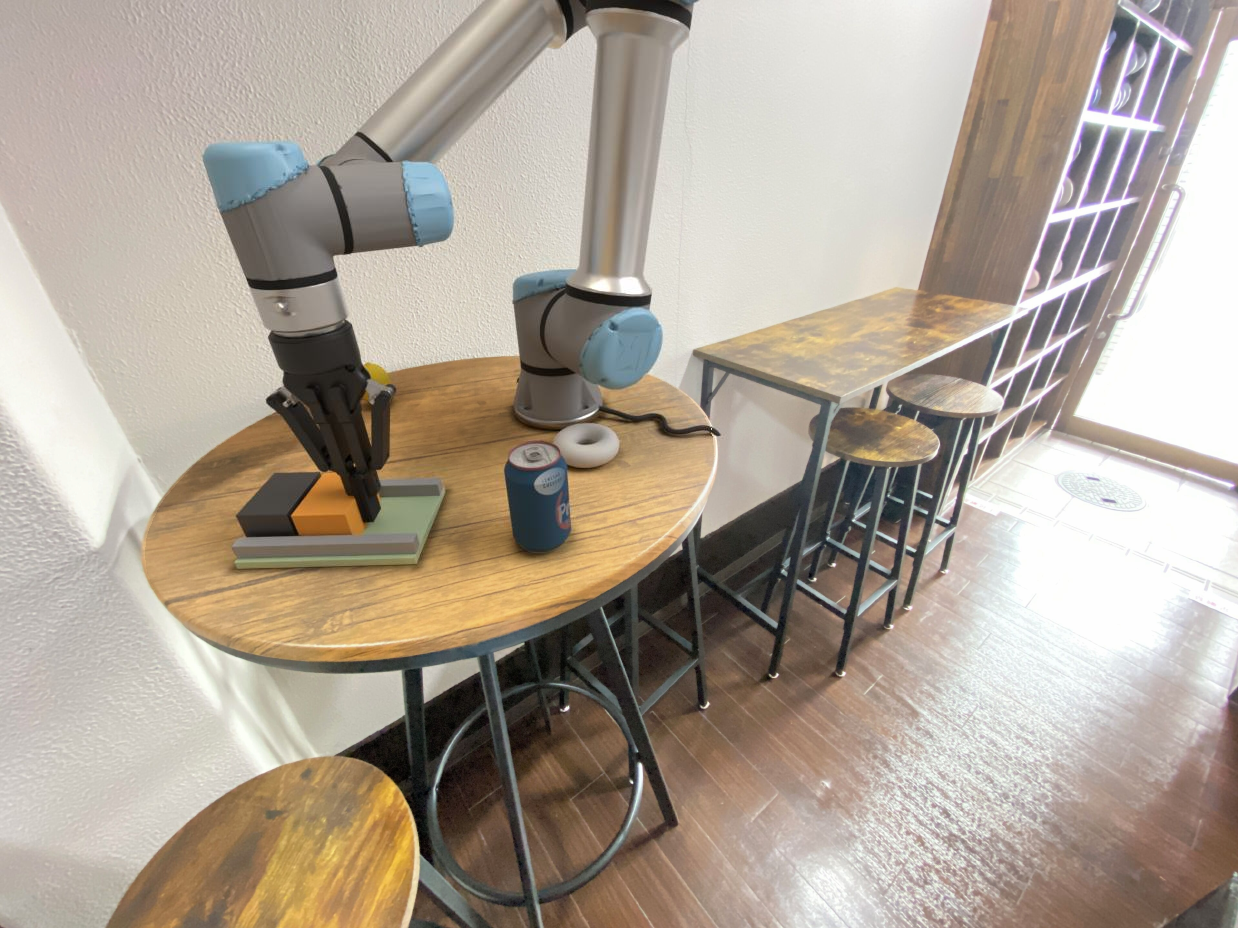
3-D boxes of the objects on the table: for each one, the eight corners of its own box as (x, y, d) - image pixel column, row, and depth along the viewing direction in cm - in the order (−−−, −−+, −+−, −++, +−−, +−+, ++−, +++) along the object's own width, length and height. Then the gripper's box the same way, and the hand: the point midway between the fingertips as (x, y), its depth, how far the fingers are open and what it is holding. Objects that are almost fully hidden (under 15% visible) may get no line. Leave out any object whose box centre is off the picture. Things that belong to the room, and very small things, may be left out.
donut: (540, 460, 79) (595, 479, 75) (537, 440, 77) (594, 458, 73) (579, 432, 86) (632, 448, 82) (577, 413, 84) (631, 428, 80)
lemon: (402, 402, 95) (391, 360, 91) (375, 415, 91) (363, 371, 87) (382, 395, 98) (371, 354, 93) (355, 407, 94) (342, 364, 89)
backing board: (445, 492, 72) (438, 457, 69) (416, 564, 61) (405, 526, 58) (295, 495, 72) (281, 461, 69) (237, 568, 60) (217, 531, 57)
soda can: (577, 551, 62) (572, 465, 56) (517, 562, 61) (505, 475, 54) (565, 515, 68) (559, 433, 61) (510, 525, 66) (498, 442, 60)
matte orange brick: (381, 500, 69) (372, 471, 67) (356, 544, 62) (345, 514, 59) (334, 501, 69) (323, 472, 66) (303, 546, 62) (290, 515, 59)
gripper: (220, 339, 49) (305, 537, 62) (361, 336, 49) (416, 533, 62) (263, 315, 55) (331, 499, 68) (387, 312, 56) (433, 495, 68)
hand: (372, 515), depth 65 cm, fingers closed
